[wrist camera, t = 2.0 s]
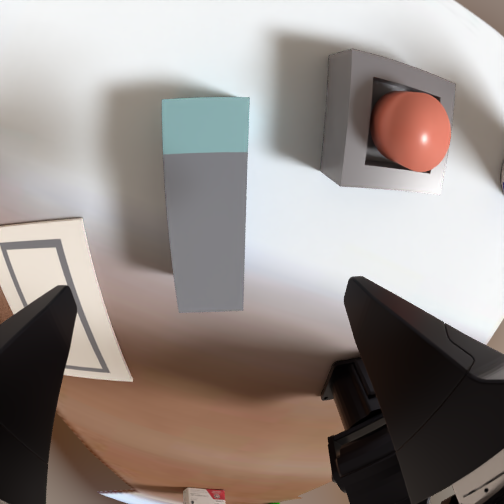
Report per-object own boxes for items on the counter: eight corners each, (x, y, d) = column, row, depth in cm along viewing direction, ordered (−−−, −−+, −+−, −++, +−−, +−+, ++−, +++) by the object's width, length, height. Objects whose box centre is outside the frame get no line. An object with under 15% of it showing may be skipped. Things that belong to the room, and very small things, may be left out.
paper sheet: (133, 379, 24) (132, 382, 23) (47, 370, 22) (46, 372, 22) (82, 218, 16) (80, 220, 15) (-18, 228, 15) (-20, 230, 14)
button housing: (412, 179, 17) (439, 194, 15) (320, 171, 16) (340, 186, 14) (425, 81, 14) (455, 83, 11) (329, 55, 13) (352, 48, 10)
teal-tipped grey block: (237, 274, 19) (243, 310, 16) (183, 276, 19) (178, 312, 16) (241, 98, 14) (249, 97, 11) (173, 99, 13) (162, 99, 10)
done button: (422, 165, 14) (443, 176, 12) (365, 157, 14) (385, 167, 12) (431, 100, 12) (454, 103, 10) (373, 83, 12) (394, 83, 10)
